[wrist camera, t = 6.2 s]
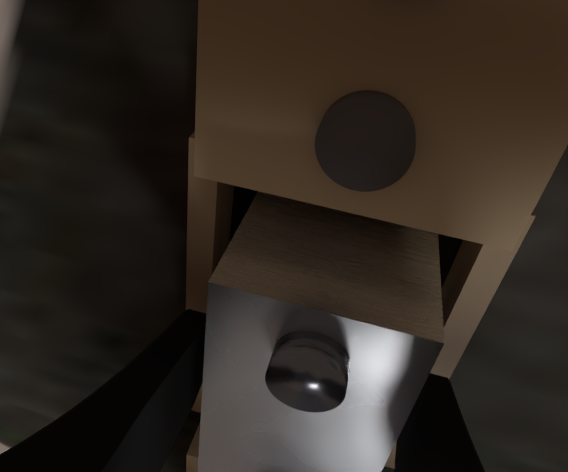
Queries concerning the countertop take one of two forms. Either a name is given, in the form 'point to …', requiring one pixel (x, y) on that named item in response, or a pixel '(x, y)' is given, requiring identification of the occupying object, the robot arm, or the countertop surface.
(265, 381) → the white box with knobs
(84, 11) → the countertop surface
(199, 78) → the wooden frame
